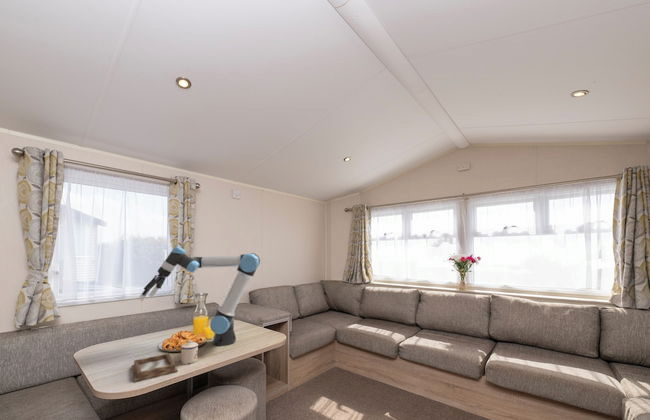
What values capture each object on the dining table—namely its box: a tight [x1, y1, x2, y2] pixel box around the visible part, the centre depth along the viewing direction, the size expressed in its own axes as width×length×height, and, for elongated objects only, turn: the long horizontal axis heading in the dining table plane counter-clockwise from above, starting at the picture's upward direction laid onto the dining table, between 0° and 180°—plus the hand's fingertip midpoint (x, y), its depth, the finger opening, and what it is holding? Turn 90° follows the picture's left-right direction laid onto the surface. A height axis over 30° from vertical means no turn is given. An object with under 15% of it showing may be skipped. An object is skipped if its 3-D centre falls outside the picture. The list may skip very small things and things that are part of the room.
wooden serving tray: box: [131, 353, 179, 383], centre depth 158 cm, size 19×22×4 cm
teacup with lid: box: [180, 339, 199, 365], centre depth 171 cm, size 12×9×12 cm
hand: (145, 298), depth 185 cm, fingers open, 13 cm apart
